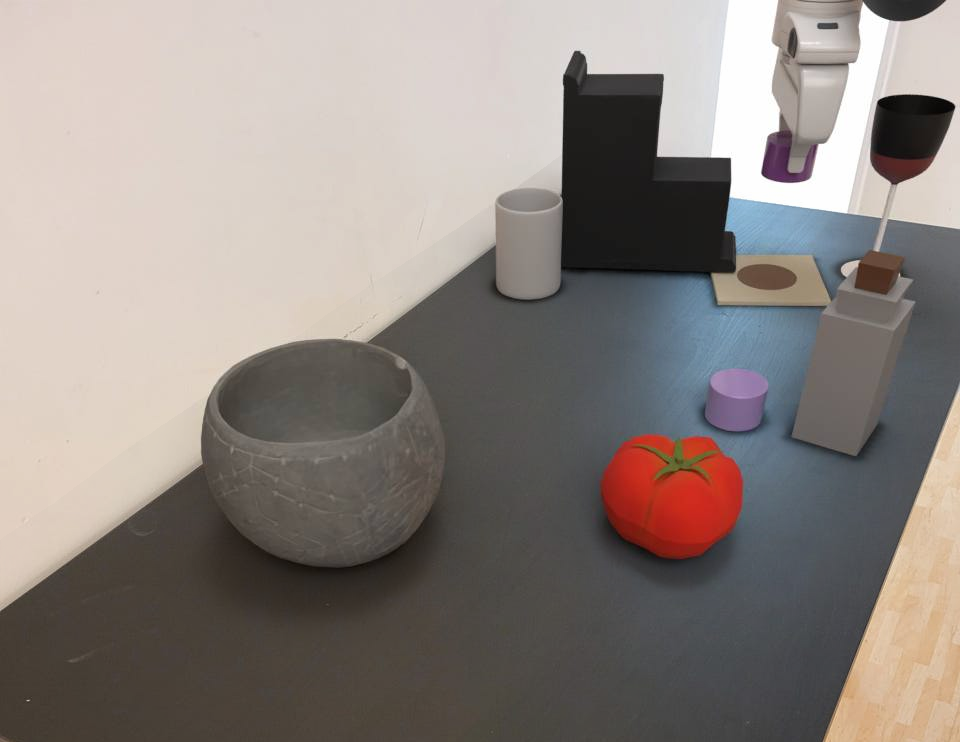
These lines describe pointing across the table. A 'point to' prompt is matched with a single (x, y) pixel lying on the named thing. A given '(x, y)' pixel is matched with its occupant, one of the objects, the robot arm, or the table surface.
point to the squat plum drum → (785, 159)
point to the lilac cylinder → (736, 399)
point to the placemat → (771, 282)
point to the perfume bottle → (855, 355)
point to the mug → (528, 243)
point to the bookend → (635, 182)
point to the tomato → (672, 494)
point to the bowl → (323, 450)
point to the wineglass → (905, 144)
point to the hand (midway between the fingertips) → (789, 160)
